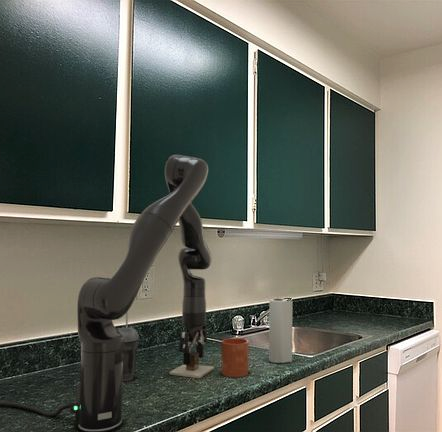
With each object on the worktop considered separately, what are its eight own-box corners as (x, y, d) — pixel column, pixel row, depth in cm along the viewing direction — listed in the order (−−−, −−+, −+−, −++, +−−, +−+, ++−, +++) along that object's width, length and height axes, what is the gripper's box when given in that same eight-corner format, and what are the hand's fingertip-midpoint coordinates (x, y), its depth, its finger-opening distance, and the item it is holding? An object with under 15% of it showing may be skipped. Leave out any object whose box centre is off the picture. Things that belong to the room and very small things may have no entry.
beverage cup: (115, 384, 131) (117, 314, 132) (111, 377, 137) (113, 310, 138) (140, 380, 134) (142, 312, 135) (135, 374, 140) (137, 309, 141)
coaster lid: (169, 374, 140) (169, 355, 141) (185, 365, 150) (186, 348, 151) (199, 378, 137) (199, 359, 137) (214, 369, 147) (214, 351, 147)
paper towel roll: (265, 360, 158) (266, 299, 159) (278, 357, 161) (278, 297, 162) (278, 365, 152) (279, 301, 153) (292, 362, 156) (292, 300, 157)
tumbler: (216, 375, 140) (217, 342, 141) (227, 367, 148) (228, 337, 149) (242, 378, 137) (242, 345, 138) (252, 370, 145) (252, 339, 146)
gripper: (194, 305, 152) (193, 354, 152) (172, 312, 139) (171, 365, 138) (214, 307, 150) (213, 356, 149) (194, 314, 137) (193, 368, 136)
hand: (193, 361), depth 144 cm, fingers open, 8 cm apart
